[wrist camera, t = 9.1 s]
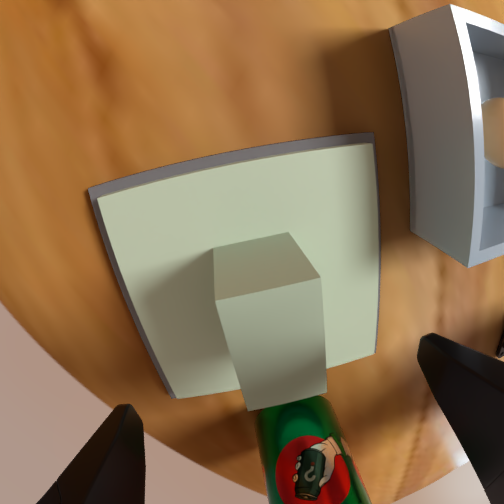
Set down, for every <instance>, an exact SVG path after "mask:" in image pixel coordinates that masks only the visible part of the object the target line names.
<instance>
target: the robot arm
mask: <svg viewBox="0 0 504 504" xmlns="http://www.w3.org/2000/svg"><path fill="white" fill-rule="evenodd" d="M496 356H497V357H498V358H501V357H502V356H504V333H503V336H502V339H501V342H500V345H499V347H498V350H497V353H496ZM417 360H418V363H419V365H420V367H421V369H422V371H423V374H424V376H425V378H426V380H427V382H428V384H429V387H430V389H431V391H432V393H433V395H434V397H435V399H436V401H437V403H438V405H439V406H440V408H441V410H442V411H443V413H444V415H445V417H446V418H447V420H448V422H449V424H450V425H451V427H452V429H453V431H454V432H455V434H456V436H457V438H458V440H459V442H460V443H461V445H462V447H463V449H464V451H465V453H466V455H467V456H468V458H469V460H470V462H471V464H472V466H473V468H474V470H475V472H476V474H477V476H478V478H479V480H480V482H481V484H482V486H483V488H484V489H485V490H484V491H485V492H486V495H487V497H488V499H489V501H490V503H491V504H504V362H503V361H500V360H498V359H495V358H493V357H491V356H488V355H486V354H483V353H481V352H478V351H476V350H474V349H471V348H469V347H466V346H464V345H461V344H459V343H457V342H454V341H452V340H449V339H447V338H445V337H442V336H440V335H437V334H435V333H429V334H427V335H424V336H422V337H421V339H420V343H419V348H418V353H417ZM145 472H146V465H145V449H144V430H143V422H142V420H141V418H140V417H139V415H138V414H137V412H136V411H135V409H134V408H133V406H132V405H131V404H119V405H117V406H116V407H115V408H114V410H113V411H112V412H111V413H110V415H109V416H108V417H107V418H106V420H105V421H104V422H103V423H102V425H101V426H100V427H99V428H98V429H97V431H96V432H95V433H94V434H93V436H92V437H91V438H90V439H89V440H88V442H87V443H86V444H85V445H84V447H83V448H82V449H81V450H80V452H79V453H78V454H77V455H76V456H75V458H74V459H73V460H72V461H71V463H70V464H69V465H68V466H67V468H66V469H65V470H64V471H63V473H62V474H61V475H60V476H59V477H58V479H57V481H55V483H54V484H53V485H52V486H51V487H50V489H49V490H48V491H47V492H46V493H45V495H44V496H43V497H42V498H41V499H40V500H39V501H38V502H37V503H36V504H145Z"/></svg>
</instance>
